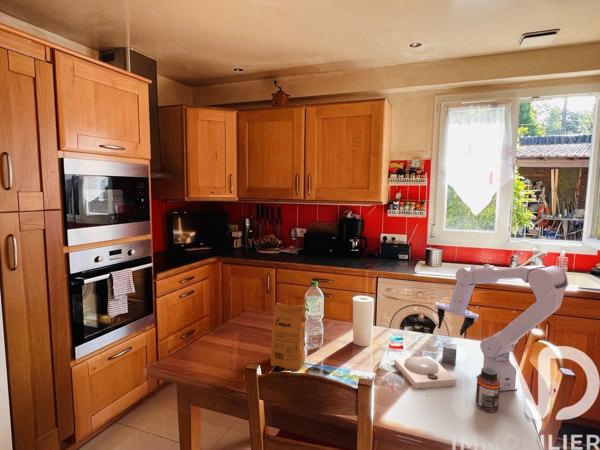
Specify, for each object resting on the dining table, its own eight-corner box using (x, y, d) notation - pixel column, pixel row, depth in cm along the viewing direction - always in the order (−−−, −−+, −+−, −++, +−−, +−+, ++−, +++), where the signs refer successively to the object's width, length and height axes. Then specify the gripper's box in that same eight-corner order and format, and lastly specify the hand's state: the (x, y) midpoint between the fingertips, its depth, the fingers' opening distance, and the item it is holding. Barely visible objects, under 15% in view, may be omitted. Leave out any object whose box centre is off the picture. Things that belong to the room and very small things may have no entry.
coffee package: (276, 354, 135) (277, 297, 133) (308, 359, 131) (309, 301, 129) (266, 366, 126) (266, 306, 123) (299, 373, 122) (300, 310, 120)
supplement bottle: (478, 398, 108) (480, 363, 107) (500, 406, 105) (503, 369, 104) (472, 407, 104) (475, 370, 103) (495, 416, 100) (498, 377, 99)
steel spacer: (455, 360, 133) (456, 344, 132) (455, 365, 129) (456, 349, 128) (442, 357, 135) (443, 342, 134) (442, 362, 130) (442, 347, 130)
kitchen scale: (455, 385, 116) (456, 376, 115) (415, 388, 113) (416, 380, 113) (429, 361, 131) (430, 354, 131) (394, 363, 129) (394, 356, 129)
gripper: (481, 299, 129) (469, 331, 134) (439, 288, 133) (429, 318, 138) (483, 308, 123) (471, 341, 127) (439, 296, 127) (429, 328, 131)
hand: (449, 330), depth 132 cm, fingers open, 7 cm apart
